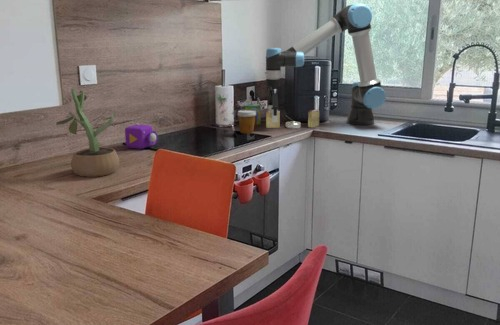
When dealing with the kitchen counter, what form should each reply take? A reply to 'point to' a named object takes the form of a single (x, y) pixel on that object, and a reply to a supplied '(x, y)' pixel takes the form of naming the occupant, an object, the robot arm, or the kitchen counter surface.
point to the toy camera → (140, 136)
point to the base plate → (293, 124)
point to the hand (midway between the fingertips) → (272, 119)
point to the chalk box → (257, 109)
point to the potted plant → (91, 145)
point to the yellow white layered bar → (313, 118)
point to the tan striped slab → (269, 120)
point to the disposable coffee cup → (246, 121)
